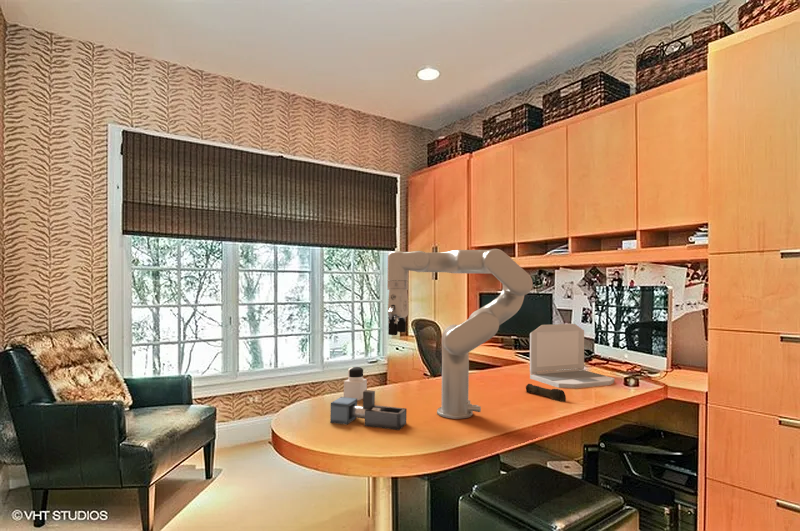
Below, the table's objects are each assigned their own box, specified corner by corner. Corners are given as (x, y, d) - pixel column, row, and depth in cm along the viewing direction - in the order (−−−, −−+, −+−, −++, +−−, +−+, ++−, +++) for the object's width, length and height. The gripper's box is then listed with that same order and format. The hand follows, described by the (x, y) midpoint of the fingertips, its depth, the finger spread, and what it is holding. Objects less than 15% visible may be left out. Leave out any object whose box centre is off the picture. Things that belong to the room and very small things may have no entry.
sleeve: (406, 423, 152) (406, 408, 152) (399, 430, 145) (400, 414, 145) (372, 419, 156) (372, 405, 156) (364, 426, 149) (364, 410, 149)
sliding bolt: (381, 418, 153) (382, 391, 153) (377, 421, 149) (378, 393, 150) (343, 414, 157) (343, 387, 158) (338, 417, 154) (339, 390, 154)
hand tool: (524, 393, 196) (525, 382, 196) (531, 392, 198) (531, 381, 198) (560, 404, 180) (560, 392, 180) (567, 402, 182) (567, 391, 182)
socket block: (356, 417, 158) (357, 398, 158) (346, 424, 150) (347, 404, 151) (341, 415, 160) (341, 396, 160) (330, 422, 152) (330, 402, 152)
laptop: (564, 390, 202) (564, 330, 203) (529, 379, 225) (529, 324, 226) (620, 384, 215) (620, 328, 216) (582, 374, 237) (582, 323, 238)
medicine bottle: (366, 396, 186) (367, 366, 187) (359, 400, 180) (360, 370, 180) (350, 394, 189) (351, 365, 189) (343, 399, 182) (343, 368, 182)
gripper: (400, 286, 156) (399, 336, 156) (414, 285, 173) (414, 331, 172) (379, 285, 158) (379, 335, 158) (395, 285, 175) (395, 330, 174)
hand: (397, 333), depth 165 cm, fingers open, 9 cm apart
